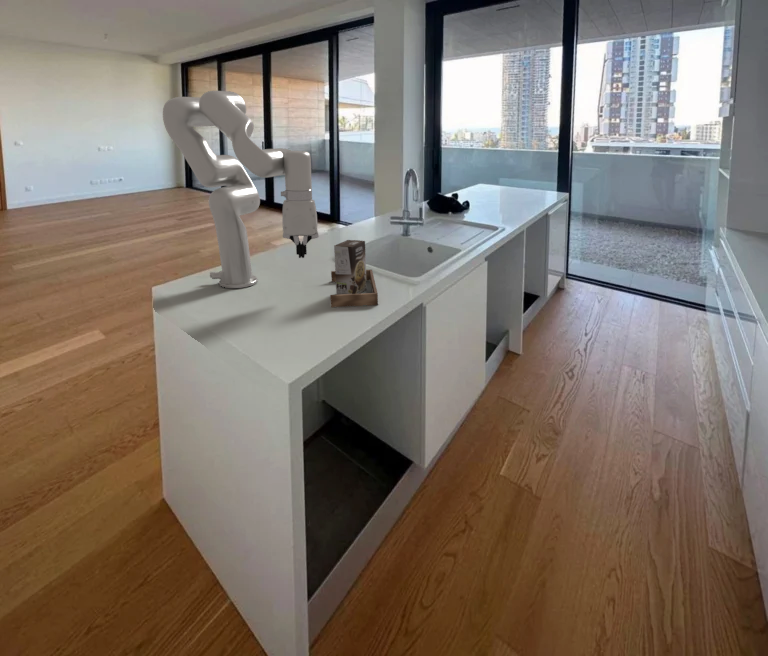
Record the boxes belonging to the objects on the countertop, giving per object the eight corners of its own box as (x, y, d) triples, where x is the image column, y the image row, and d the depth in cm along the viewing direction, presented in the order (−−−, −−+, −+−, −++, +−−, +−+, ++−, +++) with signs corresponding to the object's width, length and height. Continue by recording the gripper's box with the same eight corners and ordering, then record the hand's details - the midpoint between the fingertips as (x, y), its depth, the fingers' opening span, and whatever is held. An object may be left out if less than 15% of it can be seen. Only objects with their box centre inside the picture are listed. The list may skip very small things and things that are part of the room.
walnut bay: (330, 307, 146) (330, 295, 144) (331, 281, 169) (331, 271, 168) (377, 304, 147) (377, 293, 145) (372, 279, 170) (371, 269, 169)
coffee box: (354, 298, 152) (351, 246, 146) (335, 296, 155) (332, 245, 149) (367, 290, 160) (366, 240, 154) (349, 287, 162) (347, 238, 156)
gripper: (271, 197, 141) (275, 260, 149) (324, 198, 143) (325, 260, 150) (274, 193, 148) (278, 253, 156) (325, 193, 149) (326, 253, 157)
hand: (301, 256), depth 153 cm, fingers closed
